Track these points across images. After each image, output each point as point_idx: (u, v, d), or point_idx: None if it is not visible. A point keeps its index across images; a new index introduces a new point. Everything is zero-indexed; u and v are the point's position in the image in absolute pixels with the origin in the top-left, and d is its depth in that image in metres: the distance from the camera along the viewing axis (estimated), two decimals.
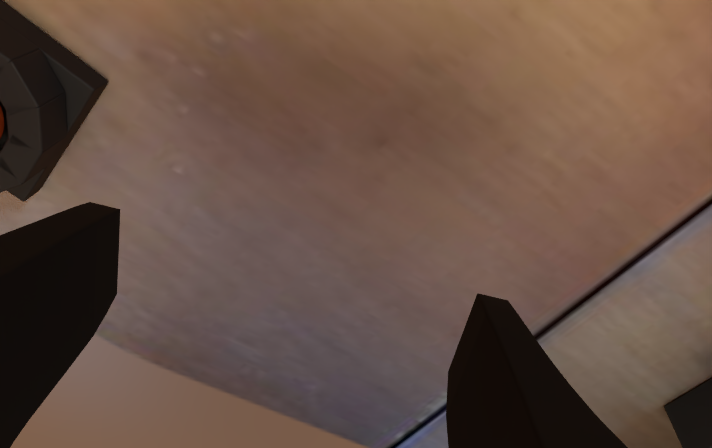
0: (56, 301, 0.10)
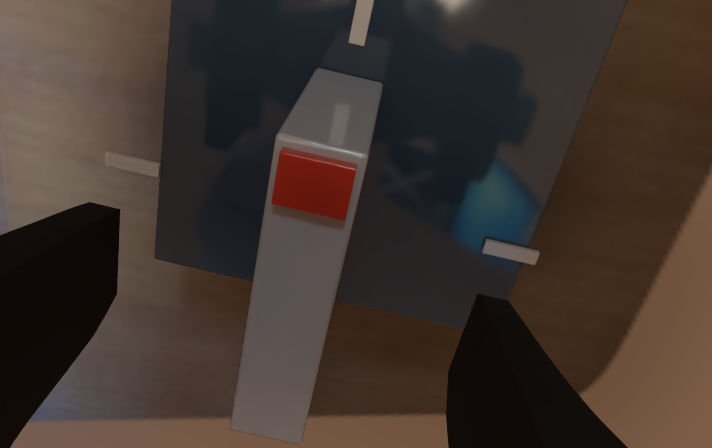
0: (56, 301, 0.10)
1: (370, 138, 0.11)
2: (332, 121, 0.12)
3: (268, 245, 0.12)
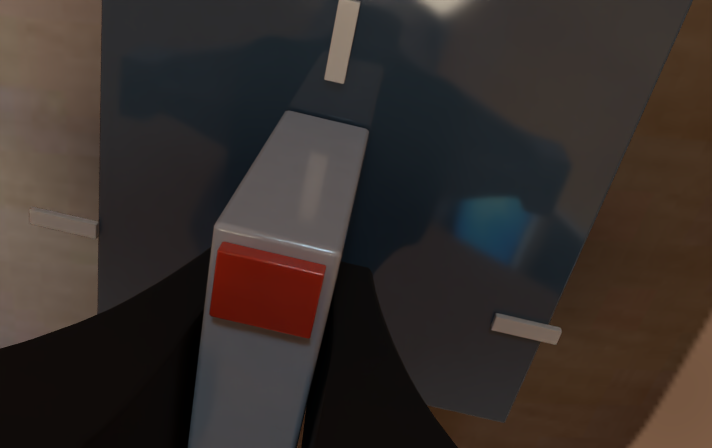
0: None
1: (346, 221, 0.08)
2: (295, 195, 0.09)
3: (210, 362, 0.09)
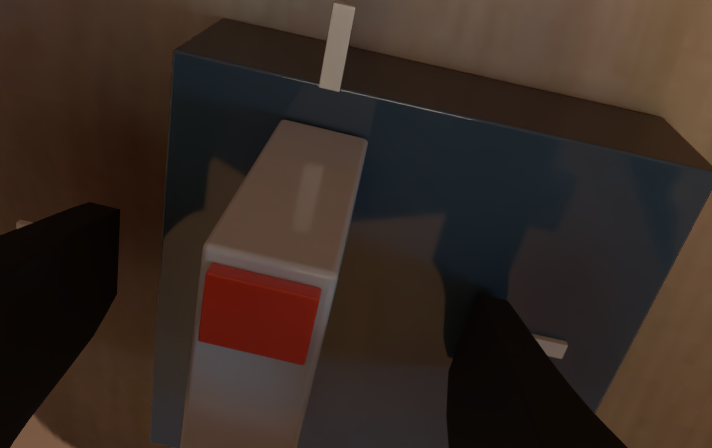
0: (56, 301, 0.10)
1: (343, 240, 0.08)
2: (289, 213, 0.08)
3: (199, 387, 0.08)
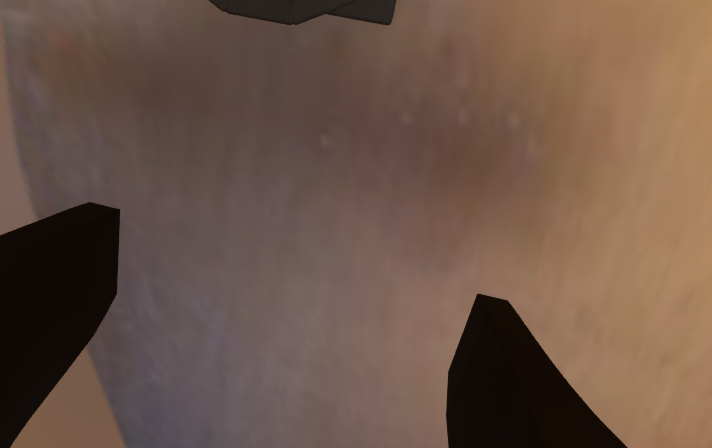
0: (56, 301, 0.10)
1: None
2: None
3: None
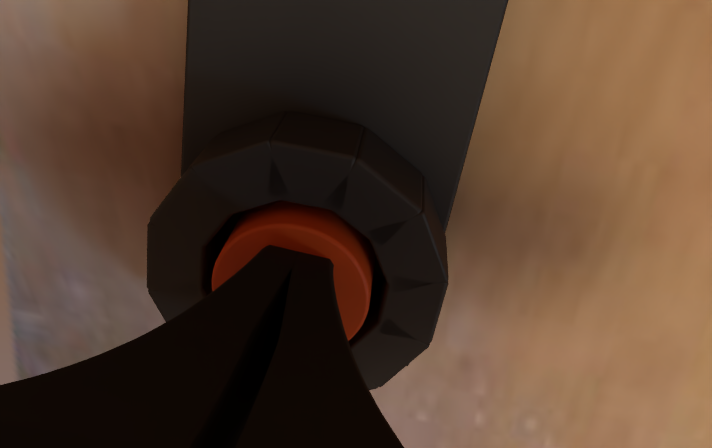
0: (263, 349, 0.11)
1: None
2: None
3: None
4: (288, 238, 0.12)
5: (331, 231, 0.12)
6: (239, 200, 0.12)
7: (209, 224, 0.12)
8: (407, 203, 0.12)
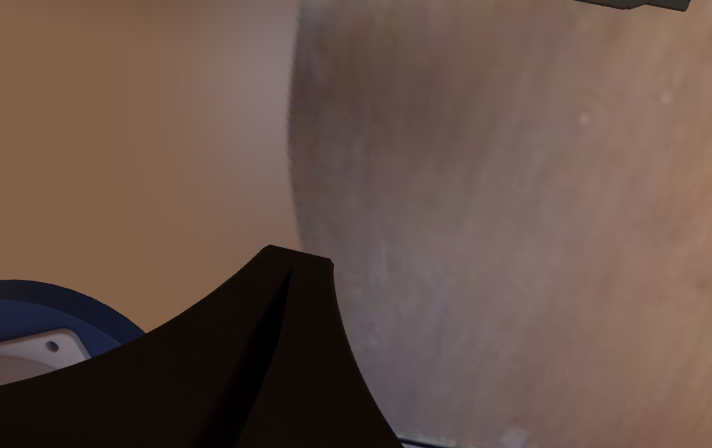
0: (264, 349, 0.11)
1: None
2: None
3: None
4: None
5: None
6: None
7: None
8: None
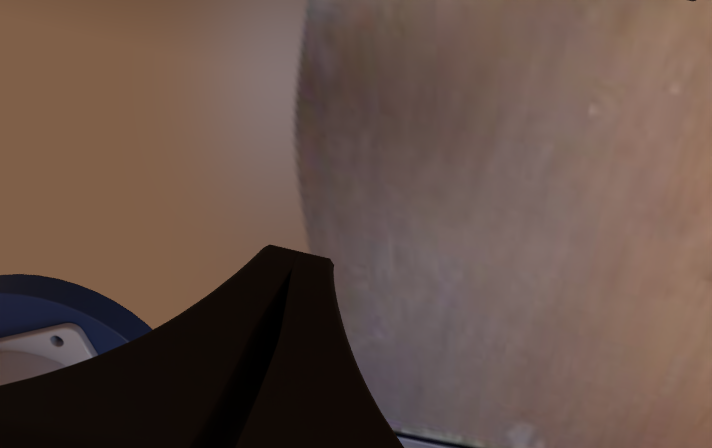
0: (263, 349, 0.11)
1: None
2: None
3: None
4: None
5: None
6: None
7: None
8: None
